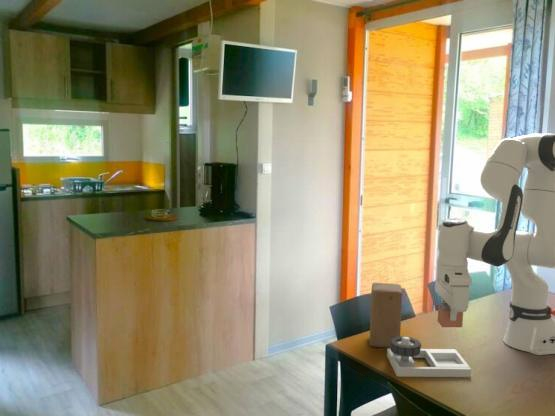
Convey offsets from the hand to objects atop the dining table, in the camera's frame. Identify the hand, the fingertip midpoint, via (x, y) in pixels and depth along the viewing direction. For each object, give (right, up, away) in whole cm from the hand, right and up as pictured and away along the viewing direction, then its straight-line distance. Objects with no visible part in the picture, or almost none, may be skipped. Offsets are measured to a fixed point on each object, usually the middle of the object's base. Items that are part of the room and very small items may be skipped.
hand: (449, 316), depth 160 cm
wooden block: (-16, -14, +20) cm, 29 cm away
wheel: (-13, -11, +2) cm, 17 cm away
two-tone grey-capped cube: (0, -3, 0) cm, 3 cm away
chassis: (-6, -16, +2) cm, 17 cm away
